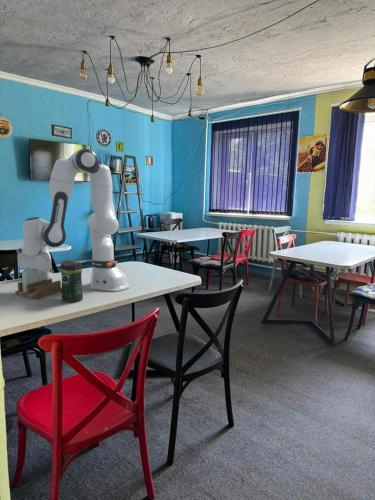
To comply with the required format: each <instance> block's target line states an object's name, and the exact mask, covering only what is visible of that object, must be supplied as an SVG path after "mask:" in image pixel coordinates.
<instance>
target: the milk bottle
mask: <svg viewBox="0 0 375 500" xmlns="http://www.w3.org/2000/svg"><path fill="white" fill-rule="evenodd" d="M48 247H49V246H48V245H47V244H46V243H45V242H43V249H44V252H46V253H47V254H48V255H49V257H50V261H51V262H52V257H51V254H50V252H49V249H48ZM52 271H53V270H52V267H51V270H50V271H47V279H51V277H52V276H53V275H52V274H53V272H52Z"/></svg>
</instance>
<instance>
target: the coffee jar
mask: <svg viewBox="0 0 375 500" xmlns="http://www.w3.org/2000/svg"><path fill="white" fill-rule="evenodd" d="M82 272H83V264H82V263H81V262H79V261H74V260H64V261H62V262H60V273H61V275H60V276H61V288H62V292H60V293H61V300H62V301H66V302H67V303H68V302H69V303H73V302H74V303H75V302H76V303H77V302H78V303H79V302H80V301H81V300H83V298H84V294H83V293H84V292H83V283H82Z"/></svg>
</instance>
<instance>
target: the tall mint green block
mask: <svg viewBox="0 0 375 500" xmlns="http://www.w3.org/2000/svg"><path fill="white" fill-rule="evenodd" d="M39 275H40V273H39V271H38V270H34V269H30V270H25V269H24V270H21V277H22V278H21V280H22V281H21V282H23V291H24V292H27V290H26V285H28V284H32V283H36V282H40V281H43V280H47V279H48V278H47V272H45V273H44V275H43V279H38V278H39V277H38V276H39Z"/></svg>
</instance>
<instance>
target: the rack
mask: <svg viewBox="0 0 375 500" xmlns="http://www.w3.org/2000/svg"><path fill="white" fill-rule="evenodd" d="M26 290H27V292H24V291H23V282H22V281H20V282H17V290H15V293H14V294H15V295H18V296H20V297H24V298H25V297H26V298H30V299H33V300H35V301H36V300H40V299H43V298H47V297H50V296H52V295H55V294H56V295H57V294H59V293H62V280H56V281H53V279H52V278H47V280H43V281H40V282H36V283H32V284H28V285H26Z"/></svg>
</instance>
